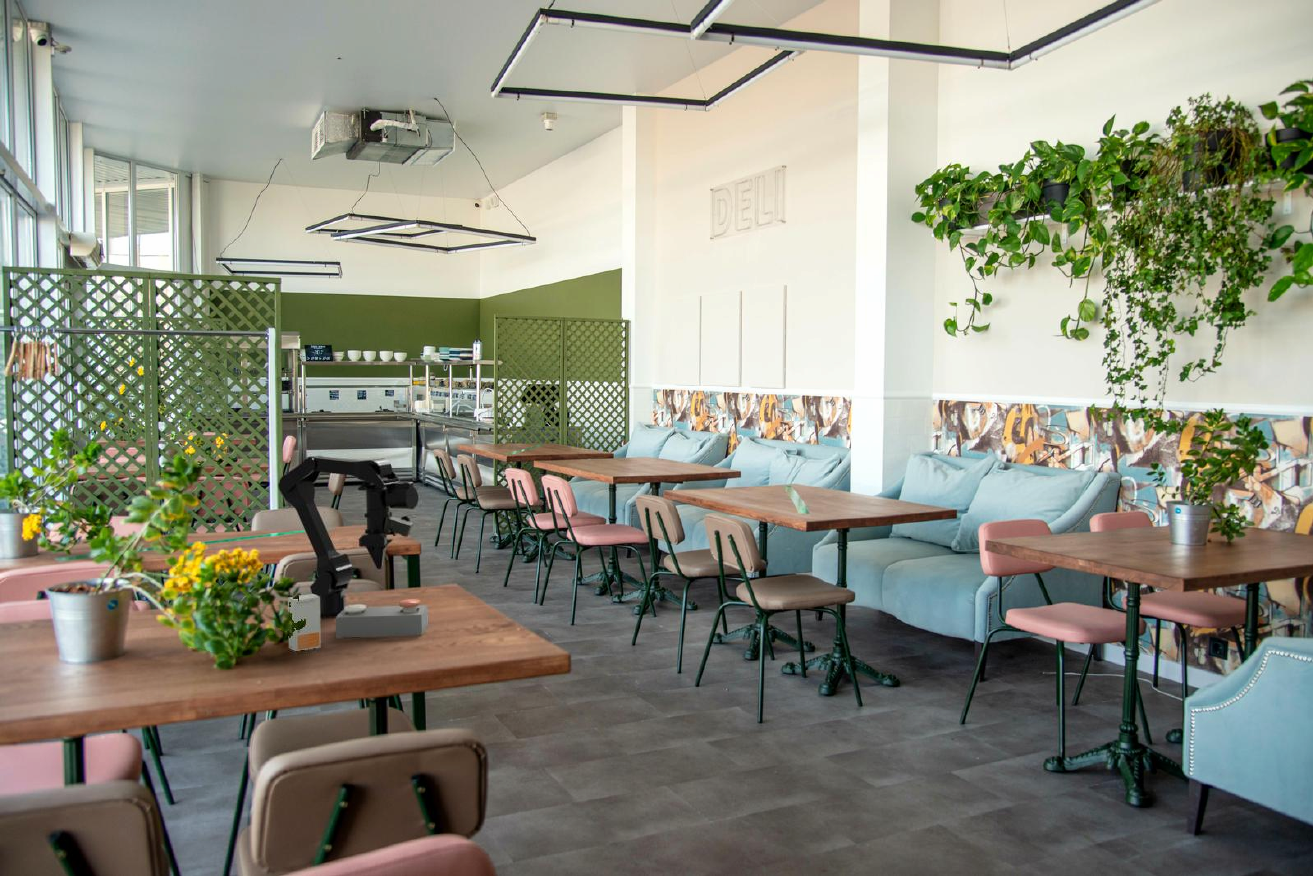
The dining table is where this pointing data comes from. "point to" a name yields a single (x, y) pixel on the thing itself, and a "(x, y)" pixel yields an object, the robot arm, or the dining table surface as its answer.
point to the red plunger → (409, 605)
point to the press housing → (382, 622)
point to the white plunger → (355, 609)
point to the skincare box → (311, 612)
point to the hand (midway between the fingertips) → (379, 568)
